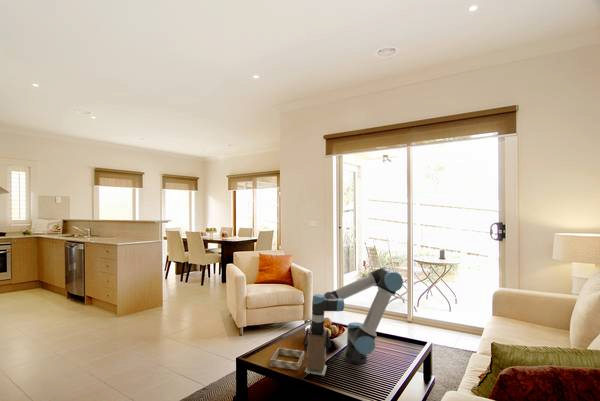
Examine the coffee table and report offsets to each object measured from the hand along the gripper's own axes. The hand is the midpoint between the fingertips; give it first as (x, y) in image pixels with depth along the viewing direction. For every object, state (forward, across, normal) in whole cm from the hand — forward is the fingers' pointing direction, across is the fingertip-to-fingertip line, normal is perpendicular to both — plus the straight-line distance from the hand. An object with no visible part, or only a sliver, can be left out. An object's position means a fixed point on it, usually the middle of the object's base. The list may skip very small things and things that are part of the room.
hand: (316, 357), depth 202 cm
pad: (+7, 0, 0) cm, 7 cm away
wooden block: (+6, 0, 0) cm, 6 cm away
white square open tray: (+7, +19, -5) cm, 21 cm away
